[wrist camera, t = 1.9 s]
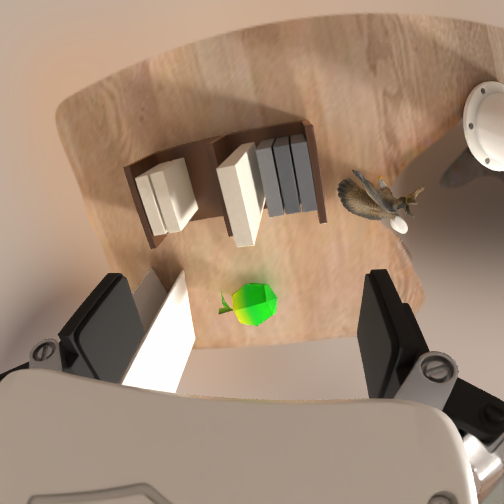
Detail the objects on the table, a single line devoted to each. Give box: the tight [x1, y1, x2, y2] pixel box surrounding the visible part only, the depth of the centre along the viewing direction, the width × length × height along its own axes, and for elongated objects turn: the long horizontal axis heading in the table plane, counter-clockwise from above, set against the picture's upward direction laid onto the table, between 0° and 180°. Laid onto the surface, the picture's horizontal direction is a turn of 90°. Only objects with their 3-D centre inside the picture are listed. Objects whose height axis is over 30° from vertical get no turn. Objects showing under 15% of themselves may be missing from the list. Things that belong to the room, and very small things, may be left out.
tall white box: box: [118, 268, 195, 393], centre depth 36 cm, size 14×6×30 cm, turn 1°
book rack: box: [124, 120, 327, 249], centre depth 34 cm, size 20×10×8 cm, turn 102°
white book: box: [216, 142, 266, 247], centre depth 30 cm, size 2×7×13 cm, turn 12°
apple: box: [219, 283, 277, 326], centre depth 43 cm, size 7×6×9 cm
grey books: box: [255, 134, 317, 217], centre depth 32 cm, size 5×7×7 cm
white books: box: [135, 158, 198, 236], centre depth 35 cm, size 4×7×7 cm, turn 12°
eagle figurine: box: [337, 170, 425, 234], centre depth 34 cm, size 8×7×9 cm
